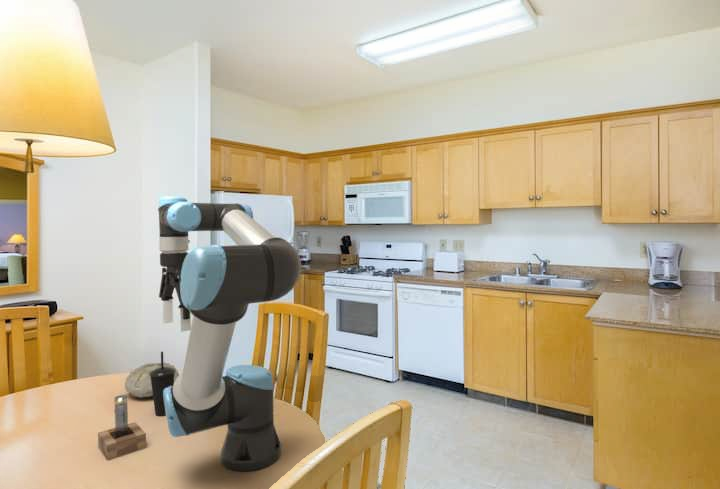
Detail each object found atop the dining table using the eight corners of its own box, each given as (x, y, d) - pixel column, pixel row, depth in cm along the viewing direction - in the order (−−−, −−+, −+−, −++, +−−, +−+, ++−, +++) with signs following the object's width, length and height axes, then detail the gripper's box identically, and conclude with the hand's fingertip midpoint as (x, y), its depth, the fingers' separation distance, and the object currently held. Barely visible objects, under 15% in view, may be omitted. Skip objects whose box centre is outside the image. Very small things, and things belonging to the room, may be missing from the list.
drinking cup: (145, 415, 139) (143, 353, 138) (165, 406, 146) (164, 347, 145) (161, 420, 136) (159, 356, 135) (181, 410, 142) (180, 350, 142)
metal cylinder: (129, 447, 119) (128, 397, 118) (117, 451, 117) (115, 400, 116) (127, 443, 121) (125, 393, 121) (114, 447, 119) (113, 396, 119)
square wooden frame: (146, 447, 119) (145, 433, 119) (107, 460, 113) (106, 445, 112) (135, 435, 126) (135, 422, 126) (98, 447, 119) (98, 432, 119)
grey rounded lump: (175, 400, 151) (174, 372, 150) (118, 405, 147) (117, 376, 146) (183, 382, 168) (182, 356, 168) (133, 386, 164) (132, 360, 164)
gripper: (205, 253, 116) (207, 332, 117) (172, 249, 135) (174, 317, 136) (177, 254, 111) (179, 337, 112) (146, 250, 130) (148, 321, 131)
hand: (176, 326), depth 124 cm, fingers open, 13 cm apart
